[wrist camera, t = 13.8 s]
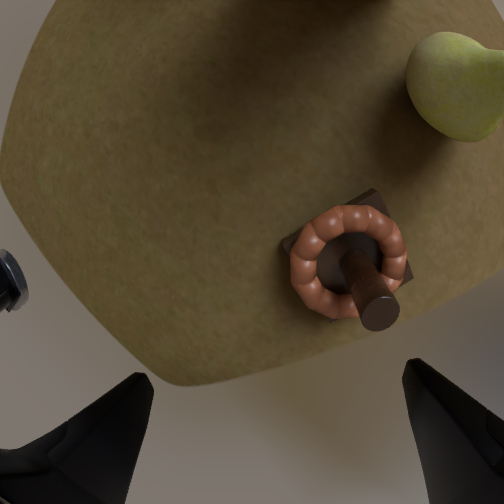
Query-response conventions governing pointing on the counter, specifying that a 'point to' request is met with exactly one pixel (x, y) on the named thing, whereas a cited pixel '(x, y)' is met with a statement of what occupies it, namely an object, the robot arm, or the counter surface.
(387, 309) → the post
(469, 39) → the fruit
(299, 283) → the ring
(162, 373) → the counter surface
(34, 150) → the counter surface
